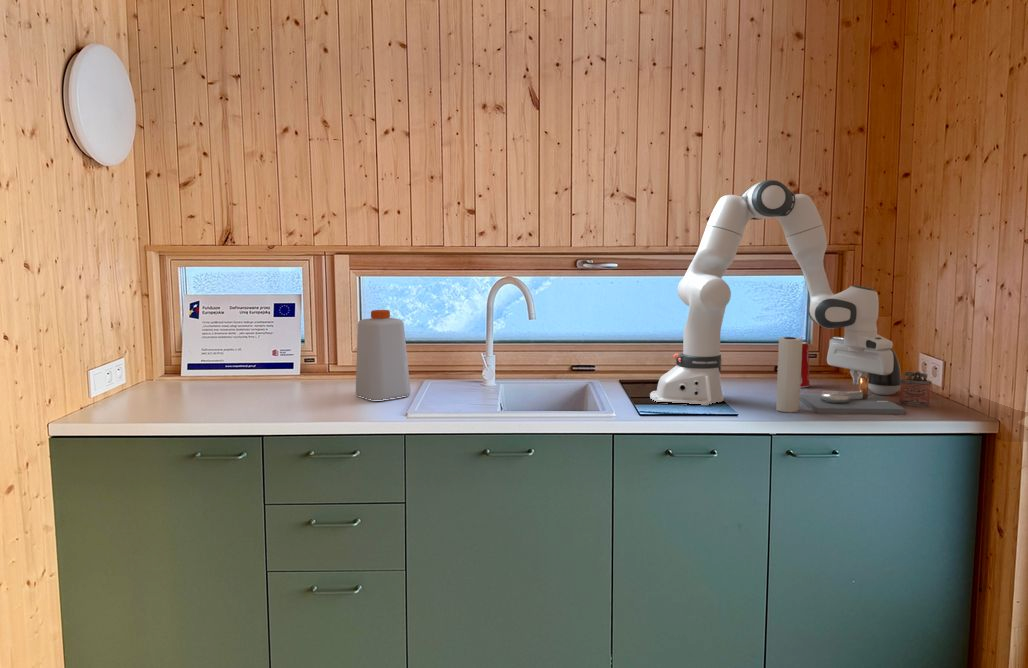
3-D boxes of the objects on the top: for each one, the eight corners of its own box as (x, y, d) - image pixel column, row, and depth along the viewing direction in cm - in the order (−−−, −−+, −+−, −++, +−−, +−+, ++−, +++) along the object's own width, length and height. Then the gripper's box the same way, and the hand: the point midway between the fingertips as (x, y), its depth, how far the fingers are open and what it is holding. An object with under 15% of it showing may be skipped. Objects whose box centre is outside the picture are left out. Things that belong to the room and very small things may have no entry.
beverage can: (810, 388, 237) (813, 343, 235) (790, 388, 239) (792, 343, 237) (807, 384, 243) (809, 341, 241) (787, 384, 244) (788, 340, 242)
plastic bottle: (373, 404, 222) (370, 314, 218) (351, 395, 234) (347, 310, 230) (415, 396, 232) (413, 310, 228) (392, 389, 243) (389, 307, 239)
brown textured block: (930, 404, 214) (932, 371, 212) (929, 407, 211) (932, 373, 209) (899, 402, 218) (901, 369, 216) (898, 404, 215) (900, 371, 213)
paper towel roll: (778, 412, 206) (781, 339, 203) (773, 407, 212) (776, 336, 209) (804, 413, 205) (808, 339, 202) (799, 408, 211) (802, 336, 208)
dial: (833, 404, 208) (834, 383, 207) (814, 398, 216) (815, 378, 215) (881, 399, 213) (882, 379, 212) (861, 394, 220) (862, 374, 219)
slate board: (817, 413, 205) (817, 407, 205) (797, 399, 223) (798, 394, 222) (904, 414, 203) (905, 408, 203) (878, 399, 221) (878, 394, 220)
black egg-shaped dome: (859, 393, 230) (861, 346, 227) (872, 388, 236) (875, 343, 234) (892, 398, 222) (895, 350, 220) (905, 393, 229) (909, 346, 227)
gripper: (823, 336, 223) (821, 379, 225) (884, 345, 206) (881, 392, 208) (837, 334, 226) (834, 377, 228) (898, 343, 209) (895, 389, 211)
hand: (857, 384), depth 218 cm, fingers closed
